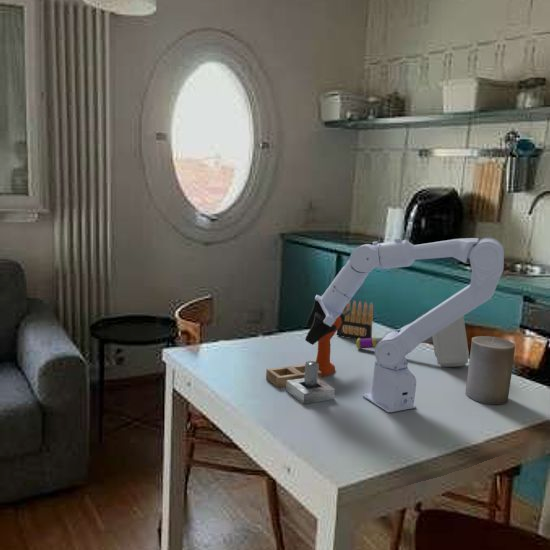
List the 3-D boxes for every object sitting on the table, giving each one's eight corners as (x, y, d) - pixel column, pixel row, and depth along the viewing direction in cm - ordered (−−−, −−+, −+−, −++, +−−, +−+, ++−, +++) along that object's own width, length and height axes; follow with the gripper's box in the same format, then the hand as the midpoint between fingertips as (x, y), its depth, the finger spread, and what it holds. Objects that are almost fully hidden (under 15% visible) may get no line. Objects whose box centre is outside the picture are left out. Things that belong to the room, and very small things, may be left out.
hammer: (350, 321, 160) (460, 311, 149) (356, 315, 167) (462, 305, 156) (358, 373, 162) (468, 366, 151) (364, 365, 169) (469, 358, 158)
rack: (308, 373, 142) (309, 363, 142) (321, 381, 137) (322, 372, 137) (265, 378, 136) (266, 369, 136) (277, 387, 131) (278, 377, 131)
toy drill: (355, 354, 155) (358, 302, 151) (324, 381, 140) (326, 325, 135) (339, 350, 157) (341, 299, 153) (307, 376, 142) (308, 321, 138)
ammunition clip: (371, 340, 174) (375, 302, 172) (370, 341, 173) (374, 303, 170) (337, 334, 178) (341, 297, 176) (336, 335, 176) (339, 298, 174)
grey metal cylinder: (318, 396, 128) (321, 364, 127) (307, 398, 126) (310, 366, 125) (311, 391, 130) (314, 360, 129) (300, 393, 129) (303, 361, 128)
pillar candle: (511, 396, 136) (519, 336, 133) (503, 409, 128) (512, 345, 125) (470, 386, 141) (477, 328, 138) (460, 398, 133) (467, 336, 130)
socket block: (334, 399, 127) (334, 389, 126) (303, 404, 123) (304, 393, 123) (315, 386, 134) (315, 376, 133) (285, 390, 130) (286, 380, 130)
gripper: (326, 269, 134) (296, 312, 139) (327, 293, 121) (293, 340, 125) (351, 284, 135) (320, 327, 140) (355, 309, 122) (320, 356, 126)
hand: (309, 334), depth 133 cm, fingers open, 7 cm apart
